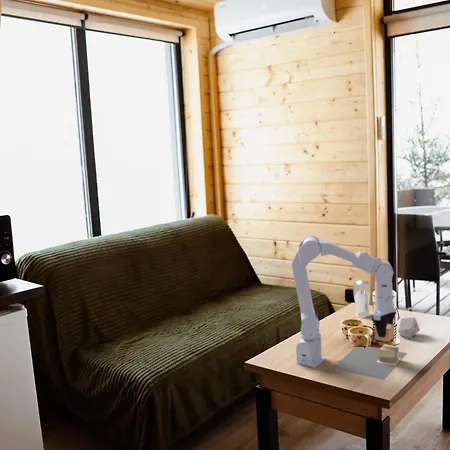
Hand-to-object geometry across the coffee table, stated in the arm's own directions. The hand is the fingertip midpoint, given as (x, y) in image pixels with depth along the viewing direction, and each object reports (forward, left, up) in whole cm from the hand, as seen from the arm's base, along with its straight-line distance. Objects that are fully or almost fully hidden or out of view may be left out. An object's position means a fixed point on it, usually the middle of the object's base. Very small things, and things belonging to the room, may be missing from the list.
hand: (384, 334), depth 191 cm
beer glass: (+42, +25, -10) cm, 50 cm away
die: (+27, +1, -10) cm, 29 cm away
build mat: (-3, +4, -10) cm, 11 cm away
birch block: (0, -1, -9) cm, 9 cm away
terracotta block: (0, 0, -2) cm, 2 cm away
